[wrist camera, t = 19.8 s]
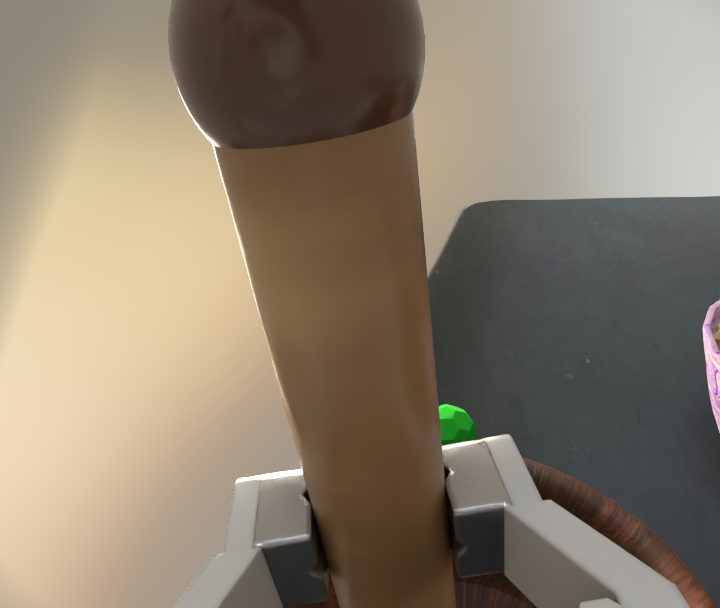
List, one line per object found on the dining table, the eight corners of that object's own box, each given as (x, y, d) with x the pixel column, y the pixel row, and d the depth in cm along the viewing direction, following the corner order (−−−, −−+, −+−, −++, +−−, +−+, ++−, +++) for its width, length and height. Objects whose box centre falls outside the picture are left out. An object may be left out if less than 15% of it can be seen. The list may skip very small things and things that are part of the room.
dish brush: (336, 990, 13) (-479, -132, 2) (330, 702, 19) (84, -20, 8) (582, 951, 13) (921, -361, 2) (503, 675, 19) (492, -87, 8)
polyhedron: (411, 457, 47) (405, 418, 45) (441, 425, 50) (438, 387, 48) (457, 482, 44) (454, 442, 42) (487, 447, 47) (486, 407, 44)
